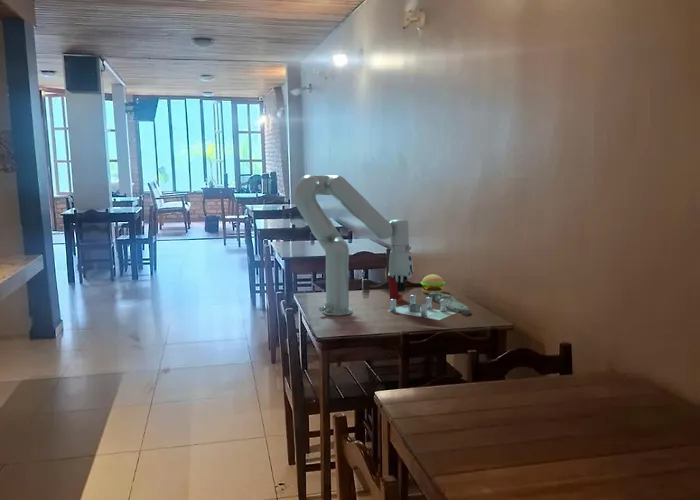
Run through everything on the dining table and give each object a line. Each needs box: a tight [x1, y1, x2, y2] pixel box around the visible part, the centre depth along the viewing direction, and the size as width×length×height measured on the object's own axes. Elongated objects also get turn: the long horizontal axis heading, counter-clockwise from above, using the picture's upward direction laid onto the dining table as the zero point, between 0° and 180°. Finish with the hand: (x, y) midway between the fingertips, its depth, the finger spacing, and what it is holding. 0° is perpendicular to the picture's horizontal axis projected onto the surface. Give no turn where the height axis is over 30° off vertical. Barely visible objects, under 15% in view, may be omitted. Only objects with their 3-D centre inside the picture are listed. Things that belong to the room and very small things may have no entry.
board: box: [387, 304, 456, 321], centre depth 245 cm, size 14×25×1 cm, turn 52°
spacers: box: [389, 294, 447, 318], centre depth 246 cm, size 15×20×5 cm
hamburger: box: [420, 273, 446, 295], centre depth 288 cm, size 12×12×9 cm
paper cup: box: [387, 272, 404, 302], centre depth 267 cm, size 8×8×14 cm
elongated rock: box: [428, 291, 471, 316], centre depth 259 cm, size 35×5×10 cm
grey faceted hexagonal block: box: [407, 303, 421, 312], centre depth 247 cm, size 4×5×2 cm
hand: (401, 291), depth 251 cm, fingers closed
